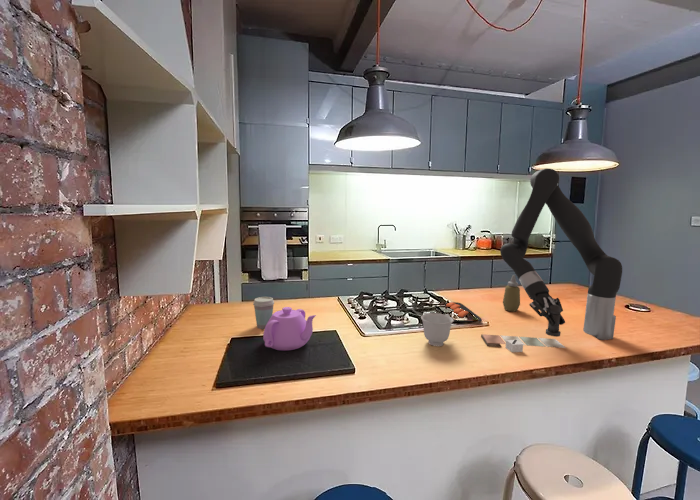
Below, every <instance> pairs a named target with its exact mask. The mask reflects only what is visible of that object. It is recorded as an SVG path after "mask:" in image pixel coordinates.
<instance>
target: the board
mask: <svg viewBox="0 0 700 500" xmlns="http://www.w3.org/2000/svg"><path fill="white" fill-rule="evenodd" d="M480 338H481V339H482V340H483V342H484V344H485V345H486V346H487V347H495V348H496V347H498V348H502V347H503V346H502V345H506V340H517V341H519V342H521V343H522V344H523V346H531V347H542V348H543V347H547V348H560V349H561V348H562V349H567V347H566V346H564V344H562V343H561V342H560V341H559V340H557V339H556V338H547V337H546V338H545V337H531V336H530V337H529V336H528V337H527V336H517V335H516V336H515V335H514V336H513V335H498V334H483V333H482V334H480Z"/></svg>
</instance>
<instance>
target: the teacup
mask: <svg viewBox="0 0 700 500" xmlns="http://www.w3.org/2000/svg"><path fill="white" fill-rule="evenodd" d="M439 313H440V312H436V313H427V312H426V313H423V314H422V315H421V316H420V319H421V320H422V326H423V335H424V338H425V339H426V340H427V341H428V344H429V345H431V346H432V347H433V346H434V347H443V345H444V343H445V342H446V341H447V340H448V339H449V336H450V333H451V327H452V323H453V322H455V321H454V319H453V318H452V317H450V316H449V314H445V315H444V313H443V314H439Z"/></svg>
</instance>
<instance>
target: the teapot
mask: <svg viewBox="0 0 700 500" xmlns="http://www.w3.org/2000/svg"><path fill="white" fill-rule="evenodd" d="M316 317H317V315H309V316H308V317H307V319H306V311H305V310H304V309H302V308H298V309H293V308H292V307H290V306H285V307H282V309H281V310H278V311H277V310H276V311H275V312H273V314H272V316H271V318H270V319H269V321H268V322H267V324H266V327H265V329H263V335H262V336H263V337H262V338H263V341H264V346H265V348H271V349H273V350H277V351H293V350H297V349H300V348H302V347H304V346H305V345H306V344H307V343H308V341H309V340H310V339H311V336H312V334H313V331H314V328H313V320H314V318H316Z"/></svg>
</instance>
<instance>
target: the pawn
mask: <svg viewBox="0 0 700 500" xmlns="http://www.w3.org/2000/svg"><path fill="white" fill-rule="evenodd" d="M549 311H550V313H551V315H552V316H553V317H554V319H555V321H556V322H557V325H555V326H551V325H550V323H549V322H548V321H547V329H545V335H548V336H550V337H556V338H557V337H561V334H562V333H561V332H562V331H561V330H560V314H561V313H562V312H561V308H560V306H558V305H555V304H554V305H551V306H550V307H549Z"/></svg>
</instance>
